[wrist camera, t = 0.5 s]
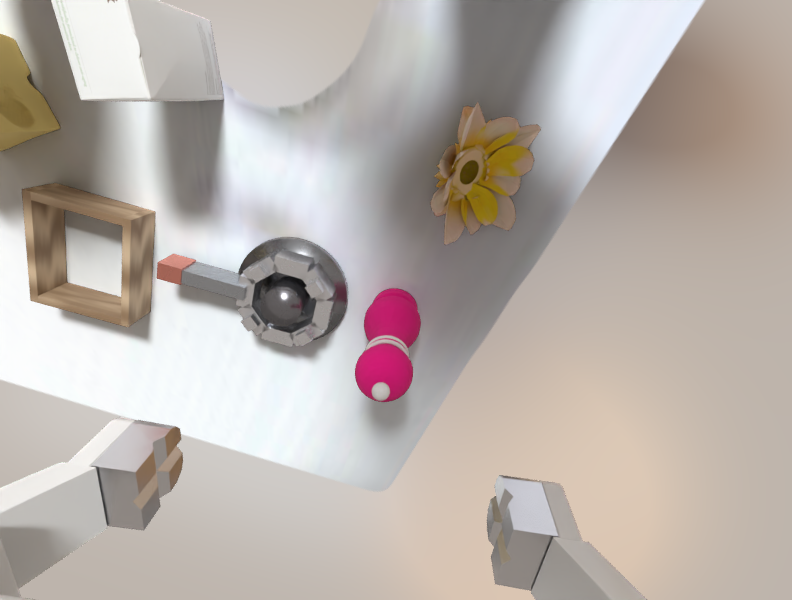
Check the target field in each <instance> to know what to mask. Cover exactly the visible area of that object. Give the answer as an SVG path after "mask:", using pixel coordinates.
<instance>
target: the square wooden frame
mask: <svg viewBox="0 0 792 600" xmlns="http://www.w3.org/2000/svg"><path fill="white" fill-rule="evenodd" d="M22 198H23V210H24V223H25V236H26V248H27V261H28V274H29V286H30V299H31V301H34V302H37V303H41V304H45V305H48V306H52V307H56V308H59V309H63V310H67V311H70V312H74V313H77V314H81V315H85V316H88V317H92V318H96V319H99V320H103V321H107V322H110V323H114V324H118V325H121V326H125V327H130V326H131V325H132V324H134V323H135V322H137V321H138V320H139V319H141V318H142V317H144V316H145V315H146V314H148V313H149V312H150V310H151V290H152V269H153V248H154V228H155V211H151V210H148V209H144V208H141V207H137V206H134V205H131V204H127V203H124V202H120V201H117V200H113V199H110V198H106V197H103V196H99V195H96V194H92V193H89V192H85V191H82V190H78V189H75V188H71V187H68V186H64V185H61V184H57V183H52V184H47V185H42V186H36V187H31V188H26V189H22ZM64 209H65V210H68V211H72V212H75V213H79V214H82V215H86V216H89V217H93V218H96V219H100V220H103V221H107V222H110V223H114V224H117V225H121V226H123V232H122V291H121V297H118V296H115V295H111V294H107V293H104V292H100V291H97V290H93V289H89V288H86V287H82V286H78V285H75V284H71V283H68V282H67V270H66V245H65V220H64Z"/></svg>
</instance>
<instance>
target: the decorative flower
mask: <svg viewBox="0 0 792 600" xmlns="http://www.w3.org/2000/svg"><path fill="white" fill-rule="evenodd" d="M540 130H541V129H540V126H538V125H537V124H536V125H527V126H523V127H520V126H519V123H518V121H517V119H515V118H512V117H501V118H497V119H495V120H493V121H491V120H489V121H488V122H487V123H486V122H485V119H484V116H483V114H482V111H481V108H480V105H479V103H478V102H477V103H476V105H475V107H470V106H465V107H464V108H463V111H462V114H461V119H460V123H459V128H458V133H457V135H458V141H459V143H458V144H457V143H455V145H450V146H449V147H448V148H447V149H446V150H445V152H444V153H443V156H442V158H441V161H440V164H438V165H436V166H437V167H438V168H439V169H440V171H439V172H438V173H437V174H436V175H435V176H434V177H435V178H437V179H440V181H439V182H438V183H437V185H436V187H440V188H439V189H438V190H437V191H436V192H435V193H434V195H433V197H432V200H431V202H430V204H431V209H432V211H433V212H434V215H435V216H436V217H438V216H441V215H443V214H446V217H445V226H444V245H446V244H450V243H452V242H455V241H456V240H457V239H458V238H459V237H460V236H461V234H462V232H463V230H464V227H465V225H466V227H467V229H468V231H469V233H470V235H472V234H474V233H475V232H477V231H478V230H479V228H480V226H481V223H482V224H483V225H484V226H486V225H490V224H493V225H495V226H497V227H499V228H502V229H504V230H508V231H509V230H510V229H511V228H512V226H513V224H514V222H515V220H516V211H515V208H514V204H513V201H512V200H511V199H510V197H509V196H511V195H515V194H516V192H517V191H518V189H519V188H520V182H521V178H520V176H523V175H524V174H526V173H527V172H529V171H530V170H531V169H532V165H533V162H534V158H533V155H532V153H531V152H530V151H529V150H528V149H527V148H528V147H529V146H530V144H531V143H532V142H533V140H534V139H535V137H536V136H537V135H538V133H539V131H540Z"/></svg>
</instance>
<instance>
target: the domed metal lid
mask: <svg viewBox="0 0 792 600" xmlns="http://www.w3.org/2000/svg"><path fill="white" fill-rule="evenodd" d="M277 249H278V251H279V252H280V251H281V250H282V249H285V250H288V251H292V252H295V253H299V254H302V255H306V256H309V257H313V258H314V263H313V264H315V263H317V262H320V263H321V265H322V267H323V268H324V270H325V271H326V273H327V274H328V276H329V277H330V279H331V280H332V282H333V283H334V285H335V287H336V290H335V293H337V297H336V301H335V305H334V309H333V313H332V317H331V321H330V323H329V325H328V327H327V329H326V330H325V331H324V333H323V334H322V335H320V336H318V337H316V338H314V339H313V340H315V339H318V338H320V337H323V336H324V335H326V334H328V333H329V332H330V331H332V330H333V329H334V328H335V327H336V326H337V324H338V323H339V321H340V320H341V318H342V316H343V314H344V312H345V309H346V306H347V301H348V287H347V282H346V278H345V276H344V273H343V271H342V269H341V268H340V266H339V264H338V263H337V262H336V260H335V259H334V258H333V257H332V256H331V255H330V254H329V253H328V252H327V251H325V250H324V249H323V248H321V247H320V246H318V245H316V244H314V243H312V242H310V241H307V240H304V239H300V238H294V237H281V238H275V239H272V240H268V241H266V242H264V243H262V244H260V245H259V246H258V247H256V248H255V249H254V250H252V251H251V252H250V253H249V254H248V255H247V257H246V258H245V259H244V261H243V263H242V264H241V267H240V269H239V273H238V274H243V271H244V270H245V269H246V268H248V267H249V266H250V265H251V264H252V263H254V262H256V261H258V260H260V259H261V258H263V257H265V256H267V255H268V254H270V253H272V252H274V251H275V250H277ZM305 287H306V284H305V283H304V281H303V280H302V279H300V278H296V277H293V276H289V275H286V274H282V273H279V272H275V273H273V274H271V275H269V276H268V277H266V278H264V279H263V280H262V286H261V293H260V298H261V303H260V308H261V312H262V314H263V316H264V317H265V319H266V320H267V321H269V322H270V323H272V324H274V325H276V326H282V327H283V326H289V325H292V324H293V323H299V322H301V321H303V320H305V319H307V318H309V317H311V316H313V315H314V311H315V307H316V302H317V300H316V299H315V297H314V298H311V296H310V295H309V293H308V292H307V290H306V289H305Z"/></svg>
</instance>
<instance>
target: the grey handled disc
mask: <svg viewBox="0 0 792 600" xmlns="http://www.w3.org/2000/svg"><path fill="white" fill-rule="evenodd" d="M313 263H314V258H313V257H309V256H306V255H302V254H299V253H295V252H292V251H288V250H285V249H282V250H281V251H280V252H279V251H278V249H277V250H275V251H274V252H272V253H270V254H268V255H267V256H265V257H263V258H261V259H260V260H258V261H256V262H254V263H252V264H251V265H250V266H249V267H248V268H246V269H245V270H244V271H243V274H238V273H235V272H231V271H228V270H224V269H221V268H217V267H214V266H210V265H206V264H203V263H199V262H196V260H194V259H190V258H187V257H183V256H180V255H176V254H172V255H170V256H168V257H167V258H165V259H163V260H161V261H159V262H158V267H157V279H161V280H164V281H168V282H171V283H175V284H179V285H181V284H185V285H189V286H192V287H196V288H199V289H203V290H207V291H210V292H214V293H217V294H221V295H224V296H228V297H232V298H235V299H237V300H236V305H237V306H241V307H240V308H239V309H238V310H237V311H238V312H239V313H240V315H241V316H242V317H243V320H242V321H241V323H242V324H243V325H244V327H245V328H246V329H247V331H250V330H252V331H253V332H254V333H255V335H256V336H257V335H259V334H261V333H262V336H261V339H264V340H267V341H271V342H274V343H278V344H282V345H285V346H289V347H292V346H293V344H295V345H296V346H297V347H298V346H300V345H301V346H303V345H305V344H307V343H309V342H311V341H312V340H313V339H314V338H316V337H318V336H320V335H322V334H323V333H324V331H325V330H326V329H327V327H328V325H329V323H330V321H331V317H332V313H333V309H334V305H335V301H336V297H337V293H335V290H336V287H335V285H334V283H333V282H332V280H331V279H330V277H329V276H328V274H327V273H326V271H325V270H324V268H323V267H322V265H321V263H320V262H317V263H315V264H313ZM275 272H279V273H282V274H286V275H289V276H293V277H296V278H300V279H302V280H303V281H304V283H305V284H306V287H305V289H306V290H307V292H308V293H309V295H310V296H311V298H314V297H315V299H316V300H317V302H316V307H315V311H314V315H313V316H311V317H309V318H307V319H305V320H303V321H301V322H299V323H293V324H292V325H289V326H283V327H282V326H276V325H274V324H272V323H270V322H269V321H267V320H266V319H265V317H264V316H263V314H262V312H261V308H260V303H261V298H260V293H261V286H262V280H263V279H264V278H266V277H268V276H269V275H271V274H273V273H275Z"/></svg>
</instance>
